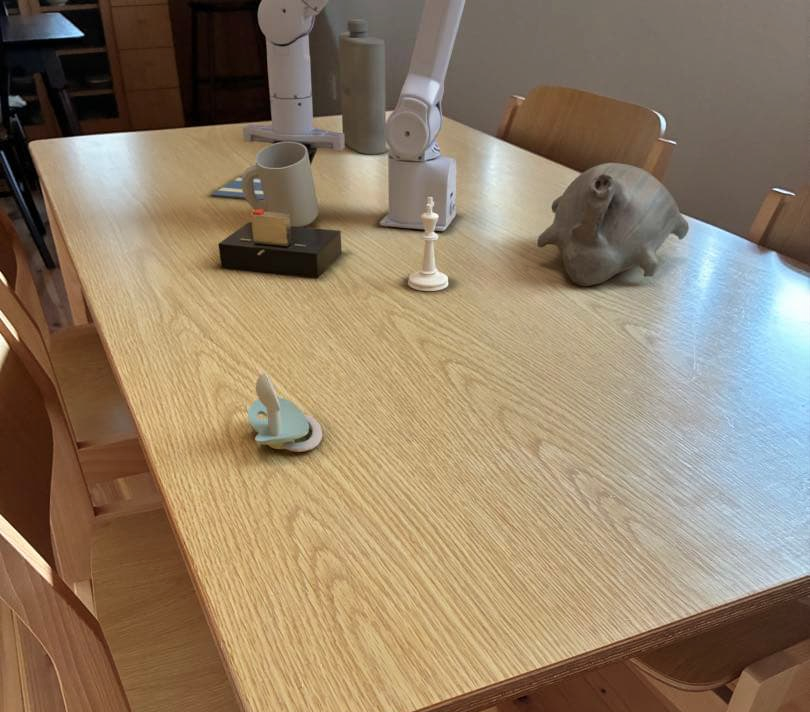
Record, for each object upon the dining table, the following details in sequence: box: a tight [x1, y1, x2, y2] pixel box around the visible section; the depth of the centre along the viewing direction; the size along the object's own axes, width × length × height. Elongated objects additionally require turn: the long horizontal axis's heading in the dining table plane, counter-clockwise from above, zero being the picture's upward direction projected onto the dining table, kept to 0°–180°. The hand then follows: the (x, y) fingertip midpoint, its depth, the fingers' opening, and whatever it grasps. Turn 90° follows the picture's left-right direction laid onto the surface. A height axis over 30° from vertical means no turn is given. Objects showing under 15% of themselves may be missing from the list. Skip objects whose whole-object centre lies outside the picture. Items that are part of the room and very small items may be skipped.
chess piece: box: [407, 197, 449, 292], centre depth 95 cm, size 5×5×10 cm
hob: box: [217, 221, 343, 279], centre depth 102 cm, size 13×11×3 cm
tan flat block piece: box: [250, 209, 292, 247], centre depth 99 cm, size 4×2×4 cm, turn 75°
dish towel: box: [211, 174, 265, 201], centre depth 130 cm, size 9×12×1 cm
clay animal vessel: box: [537, 162, 690, 287], centre depth 101 cm, size 18×16×14 cm
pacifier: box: [247, 372, 323, 453], centre depth 68 cm, size 7×6×6 cm
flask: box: [338, 18, 387, 155], centre depth 146 cm, size 15×6×20 cm, turn 20°
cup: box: [241, 142, 320, 227], centre depth 112 cm, size 7×10×9 cm
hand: (297, 198), depth 119 cm, fingers closed
